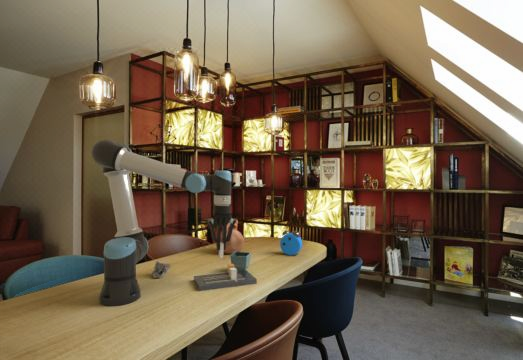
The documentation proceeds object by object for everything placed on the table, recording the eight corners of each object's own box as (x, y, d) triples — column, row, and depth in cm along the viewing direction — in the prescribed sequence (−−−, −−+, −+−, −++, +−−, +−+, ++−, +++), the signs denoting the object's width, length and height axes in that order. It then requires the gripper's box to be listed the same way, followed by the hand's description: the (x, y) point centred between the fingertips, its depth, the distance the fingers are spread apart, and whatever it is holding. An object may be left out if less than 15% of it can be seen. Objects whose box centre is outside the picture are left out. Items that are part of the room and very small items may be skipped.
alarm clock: (302, 254, 200) (302, 230, 200) (299, 256, 194) (299, 232, 194) (283, 252, 205) (283, 229, 205) (279, 254, 200) (279, 230, 200)
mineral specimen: (155, 285, 158) (172, 281, 156) (145, 278, 153) (162, 273, 150) (159, 268, 165) (176, 263, 162) (149, 260, 160) (166, 256, 157)
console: (199, 290, 136) (199, 284, 136) (193, 280, 150) (193, 274, 150) (256, 283, 146) (256, 277, 146) (246, 274, 160) (246, 269, 160)
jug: (229, 248, 219) (228, 218, 219) (249, 251, 208) (249, 220, 208) (209, 253, 204) (209, 222, 204) (231, 257, 193) (231, 224, 193)
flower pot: (246, 274, 160) (246, 256, 160) (229, 273, 162) (229, 255, 161) (251, 269, 168) (250, 252, 168) (234, 268, 170) (234, 251, 170)
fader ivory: (231, 279, 144) (231, 270, 144) (229, 277, 147) (229, 268, 147) (236, 279, 145) (236, 269, 145) (234, 277, 148) (234, 267, 148)
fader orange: (229, 275, 151) (229, 265, 151) (227, 273, 154) (227, 264, 154) (234, 274, 152) (234, 265, 152) (232, 272, 155) (232, 263, 155)
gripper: (209, 205, 138) (208, 260, 138) (238, 205, 143) (237, 258, 143) (206, 204, 145) (204, 256, 145) (233, 204, 150) (232, 254, 150)
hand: (220, 257), depth 144 cm, fingers closed
